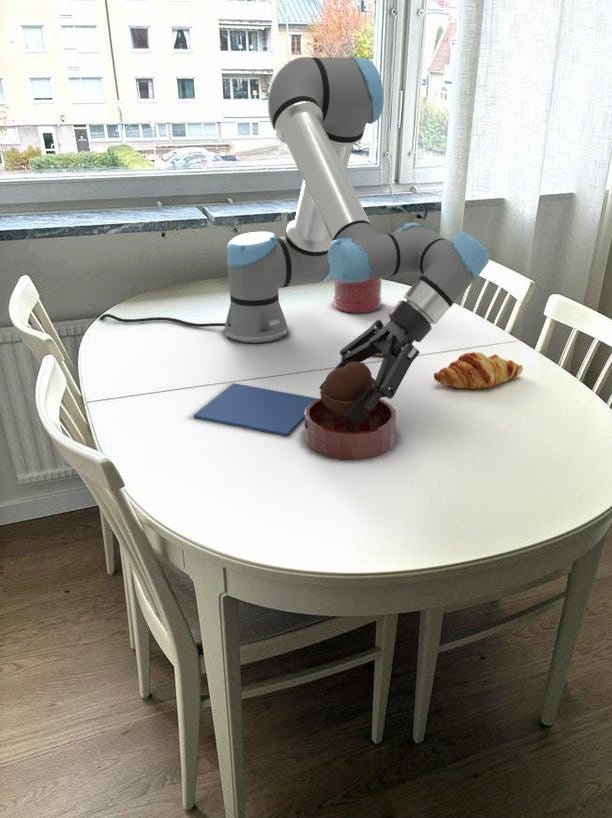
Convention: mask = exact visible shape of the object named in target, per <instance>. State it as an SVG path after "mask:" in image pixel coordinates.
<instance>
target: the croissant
mask: <svg viewBox="0 0 612 818" xmlns="http://www.w3.org/2000/svg"><path fill="white" fill-rule="evenodd" d="M523 370H524V367H523V365H522V364H518V363H516V362H515V361H513V360H512V359H509V360H506V359H505V358H501V356H500V355H498V354H492V355H490V356H487V355H486V354H484V353H483V352H479V351H477V352H475V351H473V352H472V351H470V352H465V353H463V354H461V355H460V356H459V357H458V358H457V360H454V361H452V362H450V363H449V365H448V367H446V366H445V367H443V368H441V369H439V371H437V372H435V373H433V378H434V380H435V382H437V383H440V384H442V385H447V386H450V387H452V388H456V389H471V390H472V389H473V390H476V389H477V390H478V389H483V388H491V387H494V386H497V385H499V384H501V383H505V382H507V381H509V380H510V379H512V378H516V377H517V376H519V375H520V374H522V372H523Z"/></svg>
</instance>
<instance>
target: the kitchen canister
mask: <svg viewBox="0 0 612 818" xmlns="http://www.w3.org/2000/svg"><path fill="white" fill-rule="evenodd" d="M333 302H334V307H335V308H336V309H337V310H340V311H342V312H346V313H353V314H359V313H360V314H363V313H371V312H374V311H377V310H378V309H380V307H381V304H382V278H378V279H372V280H366V281H363V282H351V283H341V282H339V281H337V280H336V279H335V278H334V294H333Z"/></svg>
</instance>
